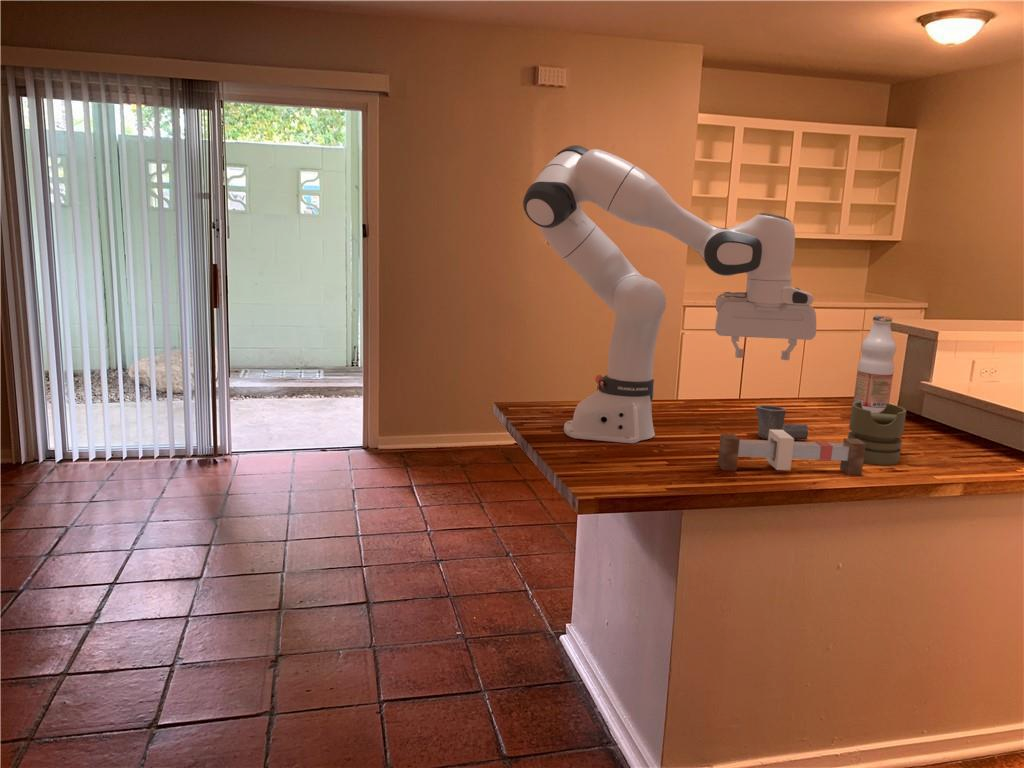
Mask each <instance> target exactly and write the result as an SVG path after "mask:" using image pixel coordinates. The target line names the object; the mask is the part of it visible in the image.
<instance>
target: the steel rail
mask: <svg viewBox="0 0 1024 768" xmlns="http://www.w3.org/2000/svg"><path fill="white" fill-rule="evenodd" d="M776 449H777V442H776V441H768V439H762V440H760V439H759V440H758V439H740V441H739V451H738V458H741V457H742V458H761V459H762V458H764V459H766V458H776ZM849 453H850V447H849V446H848V445H846V444H845V443H843V442H828V441H814V442H813V441H794V444H793V453H792V460H794V459H795V460H815V461H817V460H818V461H823V462H825V461H826V462H832V461H841V460H843V461H848V460H849Z"/></svg>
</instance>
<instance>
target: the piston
mask: <svg viewBox="0 0 1024 768" xmlns="http://www.w3.org/2000/svg"><path fill="white" fill-rule="evenodd" d="M850 411H851V412H850V418H849V425H848V426H849V427H848V428H849V430H850V431H849V432H848V435H847V438H849V439H859V440H860V441H862V442H863V443H865V444H866V446H865V454H864V461H863V463H864V462H865V463H864V464H871V465H875V464H878V465H877V466H893V465H894V466H895V465H897V464H899V463H900V457H901V448H902V444H903V440H902V439H901V437H903V435H904V430H905V423H906V415H907V409H905V407H902V406H898V405H895V404H890V403H889V404H886V407H885V408H884V409H883V410H882V411H881V412H878V413H871V411H869V410H865V409H863V408H862V402H855V403H853V402H852V404H851V410H850ZM899 437H900V438H899Z"/></svg>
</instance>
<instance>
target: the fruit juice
mask: <svg viewBox="0 0 1024 768" xmlns="http://www.w3.org/2000/svg"><path fill="white" fill-rule="evenodd" d="M892 321H893V317H892V316H889V315H888V316H886V315H874V316H872V322H873V324H872V326H871V328H870V330H869V332H868V334H867V336H865V338H864V339H863V341H862V342H861V346H860V347H861V348H860V351H861V357H860V359H859V360H858V361H859V362H858V365H857V373H856V377H855V378H856V380H855V387H854V396H853V402H852V404H853V403H855V402H862V408H863V409H865V410H869V411H871V413H878V412H881V411H882V410H883V409H884V408H885V407H886V404H890V400H891V399H890V397H891V393H892V392H891V391H892V385H893V377H894V372H895V371H894V370H895V362H894V357H895V355H896V352H897V344H896V341H895V340H894V338H893V332H892V329H891V324H892V323H893V322H892Z"/></svg>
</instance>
